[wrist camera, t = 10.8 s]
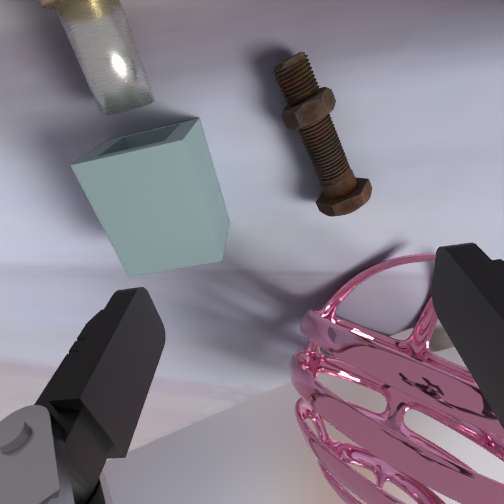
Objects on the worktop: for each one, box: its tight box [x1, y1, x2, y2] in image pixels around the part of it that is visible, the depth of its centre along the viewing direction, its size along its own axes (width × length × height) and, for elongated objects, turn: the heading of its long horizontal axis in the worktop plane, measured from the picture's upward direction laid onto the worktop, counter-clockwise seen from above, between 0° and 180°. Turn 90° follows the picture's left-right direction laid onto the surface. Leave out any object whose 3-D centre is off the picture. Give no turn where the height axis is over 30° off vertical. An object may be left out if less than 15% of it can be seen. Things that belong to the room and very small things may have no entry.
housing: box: [70, 118, 230, 277], centre depth 34 cm, size 10×12×8 cm
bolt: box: [273, 52, 372, 216], centre depth 33 cm, size 6×5×15 cm
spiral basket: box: [290, 254, 504, 504], centre depth 36 cm, size 28×28×27 cm
